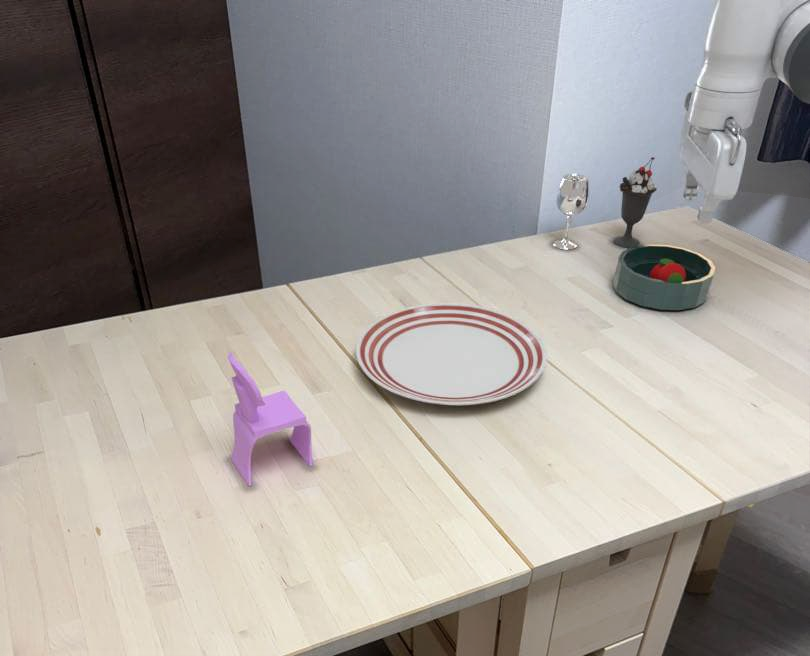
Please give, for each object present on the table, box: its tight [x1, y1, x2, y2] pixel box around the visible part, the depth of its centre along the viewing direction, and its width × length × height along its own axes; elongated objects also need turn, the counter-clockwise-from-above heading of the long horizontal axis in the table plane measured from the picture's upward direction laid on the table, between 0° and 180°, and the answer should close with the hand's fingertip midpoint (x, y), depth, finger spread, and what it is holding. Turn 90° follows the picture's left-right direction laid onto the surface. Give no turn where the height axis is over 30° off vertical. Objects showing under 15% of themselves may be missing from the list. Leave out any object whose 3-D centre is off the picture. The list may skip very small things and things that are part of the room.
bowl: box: [612, 243, 717, 311], centre depth 126 cm, size 16×16×5 cm
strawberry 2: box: [657, 263, 686, 282], centre depth 121 cm, size 4×4×5 cm
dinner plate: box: [355, 302, 548, 406], centre depth 108 cm, size 28×27×3 cm
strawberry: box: [650, 259, 674, 279], centre depth 126 cm, size 4×4×5 cm
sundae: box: [612, 156, 658, 249], centre depth 138 cm, size 7×7×15 cm
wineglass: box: [552, 173, 590, 250], centre depth 138 cm, size 6×6×12 cm
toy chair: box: [227, 352, 313, 487], centre depth 87 cm, size 8×9×15 cm
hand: (696, 209), depth 114 cm, fingers open, 8 cm apart
